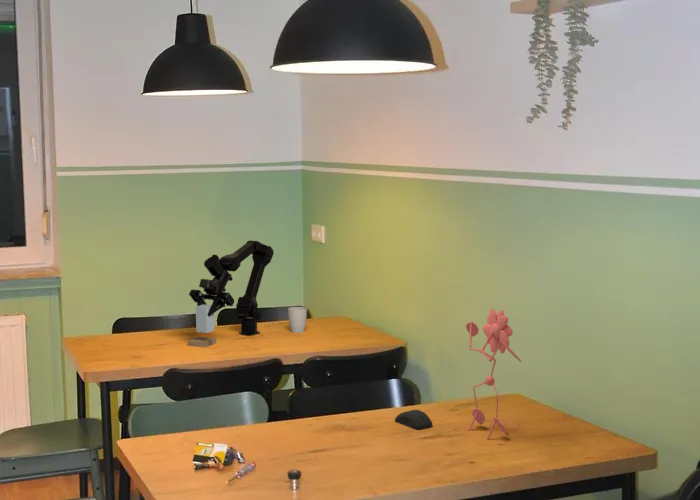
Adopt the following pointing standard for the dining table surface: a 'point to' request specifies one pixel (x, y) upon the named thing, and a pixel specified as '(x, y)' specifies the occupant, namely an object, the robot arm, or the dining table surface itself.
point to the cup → (297, 318)
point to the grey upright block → (204, 319)
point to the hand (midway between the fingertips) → (202, 315)
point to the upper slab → (202, 341)
